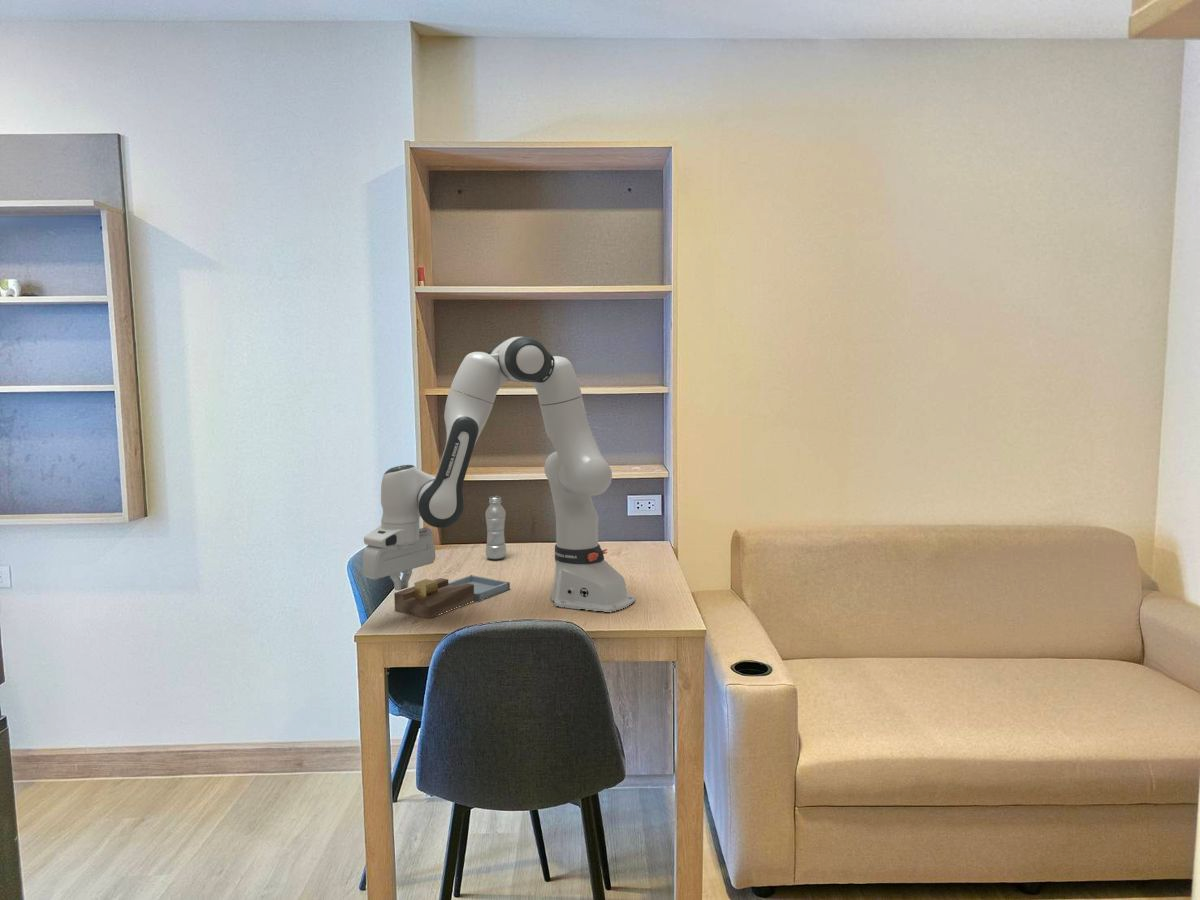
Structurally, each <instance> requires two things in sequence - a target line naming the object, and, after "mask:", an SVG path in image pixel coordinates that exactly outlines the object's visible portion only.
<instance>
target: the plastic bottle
mask: <svg viewBox="0 0 1200 900" xmlns="http://www.w3.org/2000/svg"><path fill="white" fill-rule="evenodd" d="M501 503H502V496H499V495H492V496H489V499H488V504H489V505H488V507H487V509H486V510H485V515H484V516H485V517H484V518H485V523H486V530H487V531H486V532H487V533H486V534H487V536H486V547H485V555H486V557H487V559H489V560H500V559H504V558H505V557H506V556H507V555H506V553H507V546H506V540H505V539H506V538H505V523H506V515H507V514H506V510H505V508H504V506H503V505H502V504H501Z"/></svg>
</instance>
